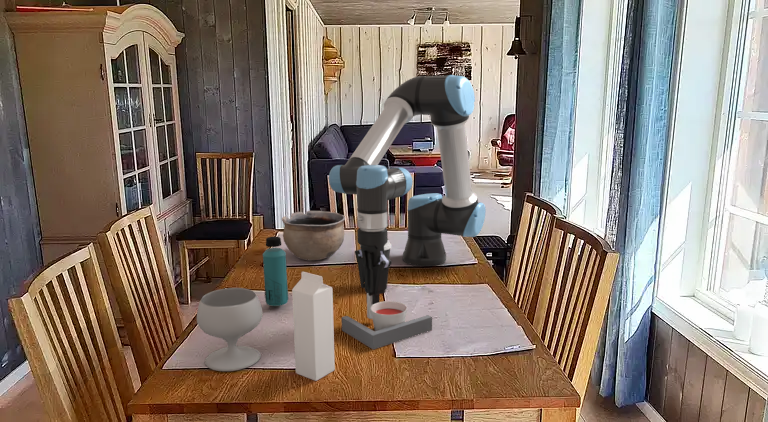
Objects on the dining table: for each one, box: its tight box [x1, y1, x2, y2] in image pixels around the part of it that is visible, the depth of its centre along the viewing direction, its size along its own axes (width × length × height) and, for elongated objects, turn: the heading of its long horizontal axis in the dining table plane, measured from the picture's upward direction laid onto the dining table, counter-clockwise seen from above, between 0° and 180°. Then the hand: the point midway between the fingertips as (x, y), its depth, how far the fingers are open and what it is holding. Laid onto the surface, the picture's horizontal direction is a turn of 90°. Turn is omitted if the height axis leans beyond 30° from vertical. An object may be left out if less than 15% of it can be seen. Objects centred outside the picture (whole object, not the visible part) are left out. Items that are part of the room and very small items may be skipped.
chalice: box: [196, 287, 263, 372], centre depth 128 cm, size 14×14×15 cm
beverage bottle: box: [262, 236, 289, 307], centre depth 159 cm, size 6×7×20 cm
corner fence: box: [341, 314, 433, 350], centre depth 144 cm, size 18×14×4 cm
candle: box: [371, 300, 408, 331], centre depth 143 cm, size 9×9×6 cm
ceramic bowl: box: [281, 210, 346, 261], centre depth 205 cm, size 22×22×15 cm
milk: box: [291, 271, 336, 382], centre depth 122 cm, size 6×6×22 cm
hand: (373, 316), depth 149 cm, fingers closed
